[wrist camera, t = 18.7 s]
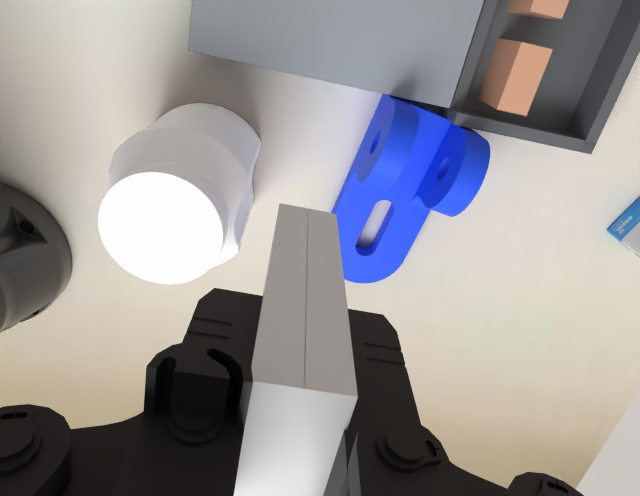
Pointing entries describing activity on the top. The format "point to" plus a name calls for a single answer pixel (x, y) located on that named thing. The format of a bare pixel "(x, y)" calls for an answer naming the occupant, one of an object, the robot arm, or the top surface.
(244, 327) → the robot arm
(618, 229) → the ink box
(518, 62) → the tile
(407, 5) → the board
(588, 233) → the top surface
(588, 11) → the box
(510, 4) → the tile
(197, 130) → the jar
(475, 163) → the bracket
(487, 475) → the top surface
